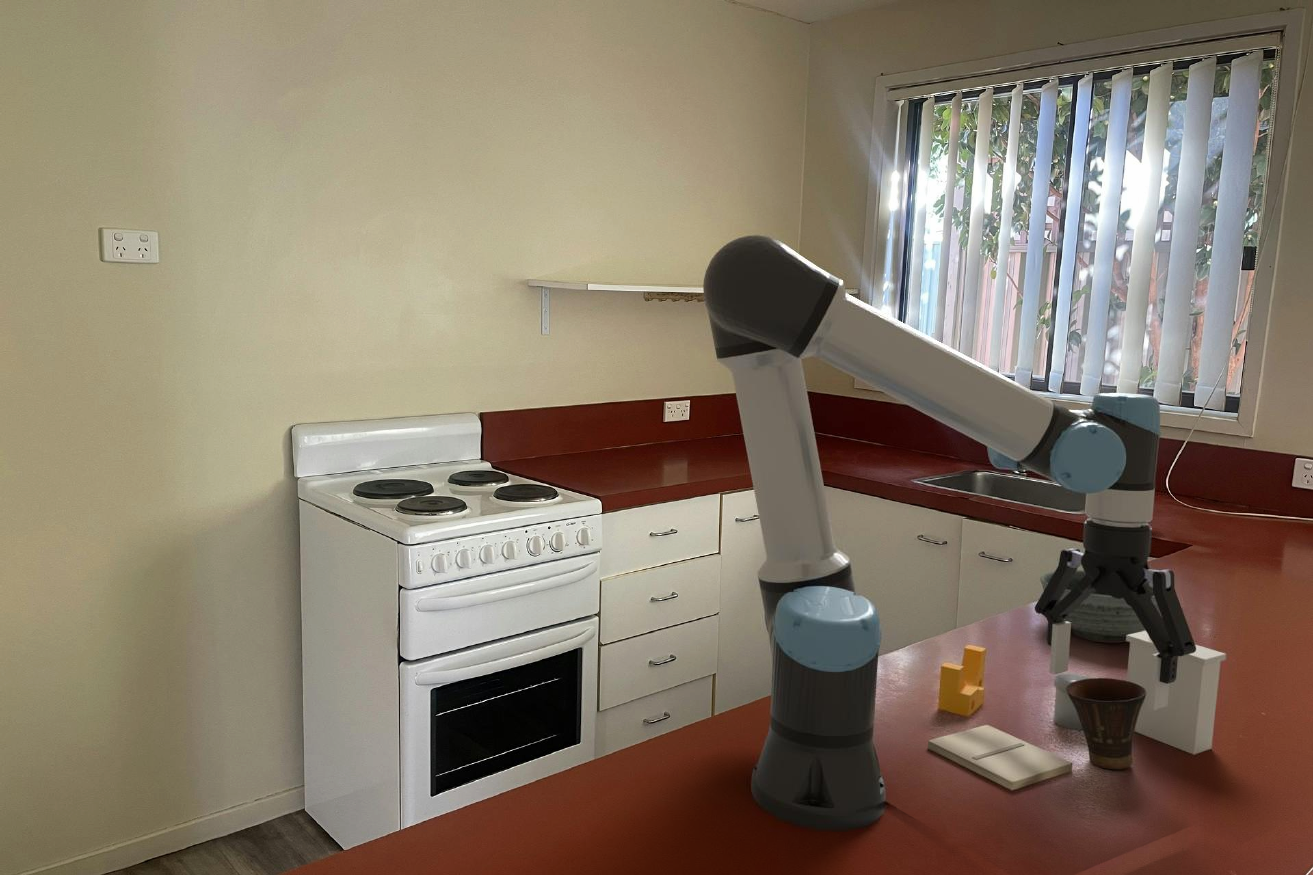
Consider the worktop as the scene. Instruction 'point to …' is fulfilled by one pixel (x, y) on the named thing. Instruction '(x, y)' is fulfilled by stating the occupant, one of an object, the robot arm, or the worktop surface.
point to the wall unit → (1178, 696)
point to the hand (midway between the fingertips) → (1105, 688)
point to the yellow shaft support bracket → (963, 683)
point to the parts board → (1000, 756)
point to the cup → (1107, 718)
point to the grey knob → (1066, 701)
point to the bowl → (1101, 614)
